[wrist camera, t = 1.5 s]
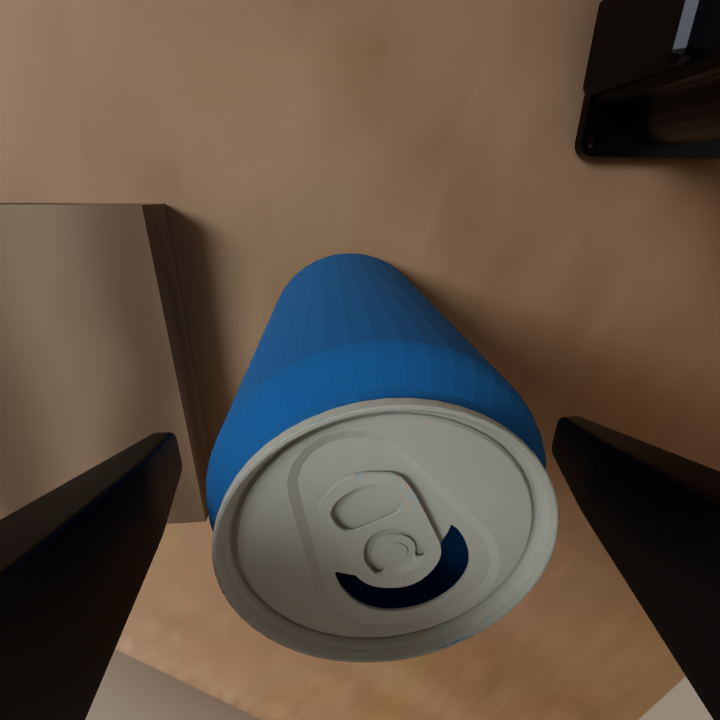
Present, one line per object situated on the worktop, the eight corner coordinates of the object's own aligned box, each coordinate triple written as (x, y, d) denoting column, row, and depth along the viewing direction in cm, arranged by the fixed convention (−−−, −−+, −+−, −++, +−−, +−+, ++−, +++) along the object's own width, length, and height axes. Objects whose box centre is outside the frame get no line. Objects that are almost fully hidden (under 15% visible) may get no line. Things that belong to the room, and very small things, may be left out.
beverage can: (317, 409, 19) (306, 714, 8) (246, 292, 16) (83, 496, 5) (440, 354, 18) (616, 600, 7) (386, 223, 16) (531, 291, 5)
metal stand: (164, 203, 15) (141, 205, 13) (216, 491, 20) (206, 521, 18) (-248, 201, 14) (-337, 203, 12) (-73, 507, 19) (-115, 540, 17)
